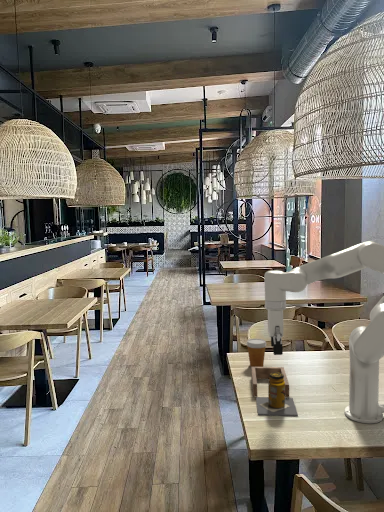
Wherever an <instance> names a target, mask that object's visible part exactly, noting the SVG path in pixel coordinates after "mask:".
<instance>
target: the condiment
mask: <svg viewBox="0 0 384 512" xmlns="http://www.w3.org/2000/svg"><path fill="white" fill-rule="evenodd" d="M269 376H270V377H269V379H268V386H267V387H268V389H267V391H268V394H267V395H268V396H267V397H268V402H266V403H263V404H260V405H261V406H262V407H264V408H266V409H267V410H270V411H272V412H275V411H278V410H281V409H284V408H287V407H289V405H287V404H285V398H286V397H285V382H284V375H283V374H282V373H279V372H273V373H270V375H269Z"/></svg>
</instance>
